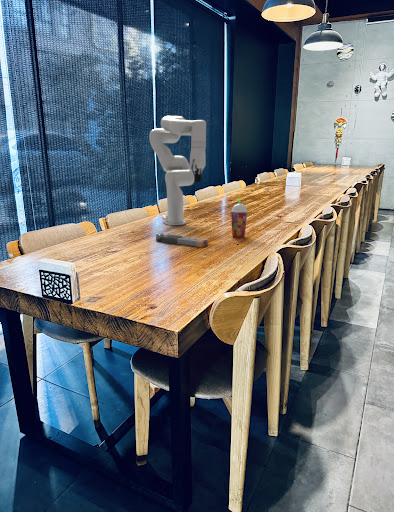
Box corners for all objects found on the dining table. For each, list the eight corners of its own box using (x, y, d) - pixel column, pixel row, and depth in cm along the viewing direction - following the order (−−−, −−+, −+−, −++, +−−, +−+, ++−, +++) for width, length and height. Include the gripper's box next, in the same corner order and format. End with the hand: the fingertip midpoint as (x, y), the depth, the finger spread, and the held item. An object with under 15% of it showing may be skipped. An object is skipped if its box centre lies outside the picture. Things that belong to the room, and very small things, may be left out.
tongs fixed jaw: (161, 242, 182) (161, 236, 181) (165, 241, 185) (165, 235, 184) (202, 247, 173) (202, 241, 172) (204, 246, 176) (204, 240, 175)
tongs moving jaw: (154, 240, 185) (154, 234, 185) (160, 238, 190) (160, 232, 189) (203, 247, 174) (203, 240, 173) (207, 244, 179) (207, 238, 178)
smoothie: (248, 235, 196) (250, 197, 191) (243, 239, 189) (245, 199, 184) (233, 234, 200) (234, 196, 194) (228, 237, 193) (229, 198, 187)
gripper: (198, 145, 201) (198, 180, 207) (185, 145, 188) (185, 182, 194) (211, 145, 198) (210, 181, 203) (198, 145, 185) (198, 183, 191)
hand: (198, 181), depth 199 cm, fingers closed
